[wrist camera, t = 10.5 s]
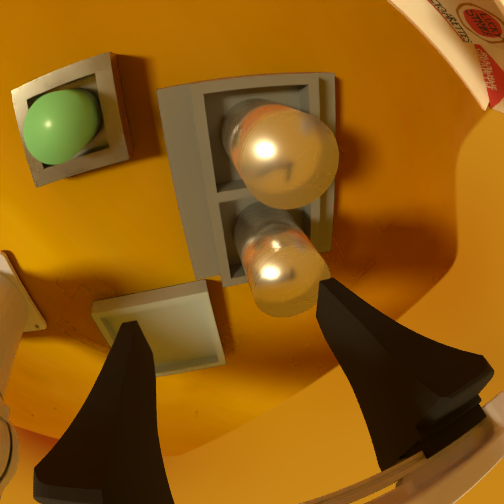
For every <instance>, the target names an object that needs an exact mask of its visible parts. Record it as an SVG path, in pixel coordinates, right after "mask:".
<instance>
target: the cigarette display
mask: <svg viewBox="0 0 504 504" xmlns="http://www.w3.org/2000/svg"><path fill="white" fill-rule="evenodd" d="M387 1H388V2H389V3H391V4H392V5H393V6H394V7H395V8H396V9H397V10H398V11H399V12H400V13H402V14H403V15H404V16H405V17H406V18H407V19H408V20H409V21H410V22H411V23H412V24H413V25H414V26H415V27H416V28H417V29H418V30H419V31H420V32H421V33H422V34H423V35H424V36H425V37H426V38H427V40H428V41H429V42H430V43H431V44H432V45H433V46H434V47H435V48H436V49H437V51H438V52H439V53H440V54H441V55H442V56H443V58H444V59H445V60H446V61H447V62H448V64H449V65H450V66H451V67H452V68H453V70H454V71H455V72H456V74H457V75H458V76H459V77H460V79H461V80H462V81H463V83H464V84H465V85H466V87H467V88H468V89H469V91H470V92H471V94H472V95H473V96H474V98H475V99H476V101H477V102H478V104H479V105H480V107H481V108H482V110H484V111H485V110H486V108H487V106H488V103H490V107H491V109H494V110H496V111H499V112H502V113H504V0H387Z"/></svg>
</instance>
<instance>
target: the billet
mask: <svg viewBox="0 0 504 504" xmlns="http://www.w3.org/2000/svg"><path fill="white" fill-rule="evenodd" d="M232 236H233V240H234V242H235V245H236V248H237V251H238V254H239V257H240V260H241V263H242V265H243V268H244V271H245V274H246V277H247V280H248V283H249V285H250V288H251V291H252V294H253V297H254V300H255V302H256V304H257V306H258V308H259V309H260V310H261V311H263V312H264V313H266V314H268V315H271V316H275V317H289V316H294V315H297V314H300V313H302V312H304V311H306V310H308V309H310V308H311V307H313V306H314V305H315V304H316V303H317V300H318V288H319V281H321V280H325V279H329V278H331V275H330V270H329V267H328V266H327V264H326V263H325V261H324V260H323V258H322V257H321V255H320V254H319V253H318V251H317V250H316V248H315V247H314V246H313V244H312V243H311V242H310V240H309V239H308V237H307V236H306V235H305V233H304V232H303V231H302V229H301V228H300V226H299V225H298V224H297V222H296V221H295V220H294V218H293V217H292V216H291V214H290V213H289V212H288V210H287V209H276V208H273V207H270V206H267V205H265V204H263V203H262V202H260V201H258V202H255V203H252V204H250V205H248V206H247V207H245V208H244V209H243V210H242V211H241V212H240V213H239V214H238V215H237V217H236V219H235V221H234V223H233V227H232Z"/></svg>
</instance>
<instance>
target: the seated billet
mask: <svg viewBox="0 0 504 504" xmlns="http://www.w3.org/2000/svg"><path fill="white" fill-rule="evenodd" d="M220 139H221V143H222V146H223V148H224V150H225V151H226V153H227V155H228V156H229V158H230V160H231V161H232V163H233V165H234V166H235V168H236V169H237V171H238V173H239V174H240V176H241V178H242V179H243V181H244V183H245V184H246V186H247V188H248V189H249V191H250V192H251V194H252V195H253V196H254V197H255V198H256V199H258V200H259V201H260V202H262V203H263V204H265V205H267V206H270V207H273V208H276V209H295V208H299V207H303V206H305V205H307V204H309V203H311V202H313V201H315V200H316V199H318V198H319V197H320V196H321V195H322V194H323V193H324V192H325V191H326V190H327V189H328V187H329V186H330V185H331V183H332V181H333V179H334V177H335V175H336V172H337V169H338V164H339V150H338V145H337V141H336V139H335V137H334V135H333V133H332V131H331V130H330V129H329V127H328V126H327V125H326V124H325V123H323V122H322V121H321V120H319V119H318V118H316V117H314V116H312V115H309V114H307V113H304V112H301V111H299V110H296V109H293V108H290V107H287V106H285V105H282V104H279V103H276V102H273V101H270V100H267V99H262V98H251V99H246V100H243V101H241V102H239V103H237V104H236V105H234V106H233V107H232V108H231V109H230V110H229V111H228V112H227V113H226V115H225V117H224V118H223V121H222V123H221V128H220Z"/></svg>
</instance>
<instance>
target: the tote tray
mask: <svg viewBox="0 0 504 504" xmlns="http://www.w3.org/2000/svg"><path fill="white" fill-rule="evenodd" d="M90 314H91V316H92V318H93V320H94V321H95V323H96V325H97V326H98V328H99V330H100V331H101V333H102V335H103V336H104V338H105V339H106V341H107V343H108V344H109V346H110V347H112V345H113V342H114V340H115V338H116V335H117V333H118V330H119V328H120V326H121V324H122V323H123V322H129V321H135V320H137V322H138V324H139V326H140V328H141V330H142V332H143V334H144V336H145V338H146V340H147V342H148V344H149V346H150V348H151V350H152V352H153V357H154V365H155V374H156V377H159V376H165V375H172V374H178V373H183V372H189V371H195V370H200V369H205V368H210V367H215V366H220V365H225V364H226V360H225V355H224V351H223V347H222V343H221V340H220V336H219V332H218V328H217V324H216V320H215V316H214V312H213V308H212V304H211V300H210V296H209V292H208V288H207V284H206V280H205V279H204V280H200V281H195V282H190V283H185V284H180V285H175V286H170V287H165V288H160V289H155V290H150V291H145V292H140V293H135V294H130V295H125V296H120V297H114V298H109V299H104V300H99V301H93V304H92V309H91V313H90Z"/></svg>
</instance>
